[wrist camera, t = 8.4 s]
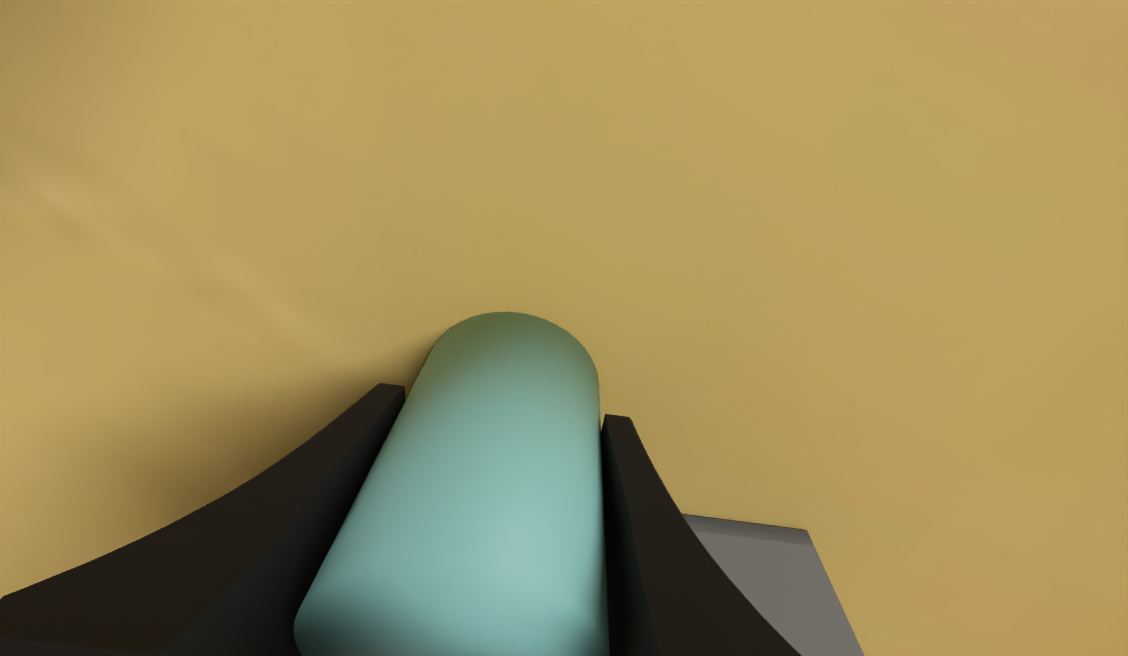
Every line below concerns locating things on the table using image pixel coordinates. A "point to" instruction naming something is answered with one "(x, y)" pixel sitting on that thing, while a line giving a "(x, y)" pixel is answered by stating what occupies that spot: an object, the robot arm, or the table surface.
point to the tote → (781, 582)
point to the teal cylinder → (476, 510)
